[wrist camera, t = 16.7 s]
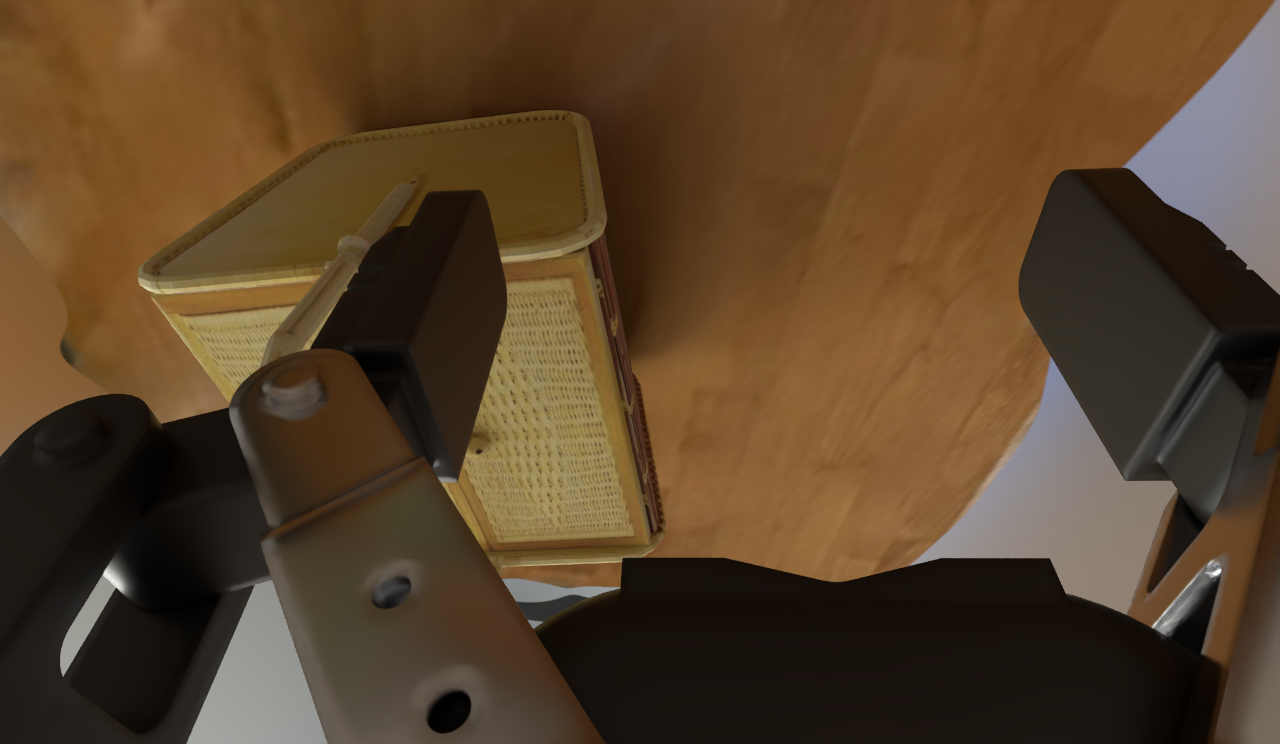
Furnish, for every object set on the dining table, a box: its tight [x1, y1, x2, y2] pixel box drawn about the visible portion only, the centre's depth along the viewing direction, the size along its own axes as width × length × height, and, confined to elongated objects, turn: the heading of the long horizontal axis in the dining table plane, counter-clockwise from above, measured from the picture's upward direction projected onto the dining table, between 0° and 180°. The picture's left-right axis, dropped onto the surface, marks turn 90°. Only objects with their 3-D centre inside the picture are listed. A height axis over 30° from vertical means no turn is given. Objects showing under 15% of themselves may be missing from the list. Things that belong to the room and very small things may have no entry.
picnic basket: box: [138, 110, 666, 577], centre depth 48 cm, size 29×26×30 cm
